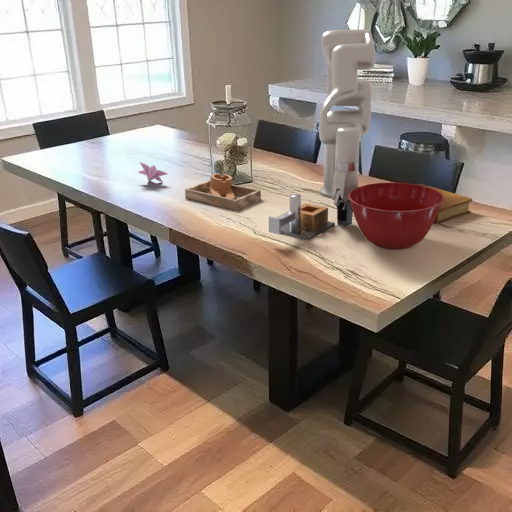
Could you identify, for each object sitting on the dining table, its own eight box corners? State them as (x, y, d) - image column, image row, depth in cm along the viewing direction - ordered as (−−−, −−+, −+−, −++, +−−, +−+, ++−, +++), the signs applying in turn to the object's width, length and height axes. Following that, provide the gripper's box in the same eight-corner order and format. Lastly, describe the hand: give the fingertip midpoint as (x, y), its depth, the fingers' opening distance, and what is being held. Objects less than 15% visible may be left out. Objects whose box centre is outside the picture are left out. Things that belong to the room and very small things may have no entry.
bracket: (208, 189, 247) (209, 172, 244) (229, 190, 249) (230, 174, 246) (213, 205, 231) (214, 188, 228) (235, 206, 233) (237, 189, 230)
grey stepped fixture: (300, 217, 219) (300, 181, 214) (334, 225, 211) (336, 188, 206) (256, 240, 201) (255, 201, 195) (292, 250, 193) (292, 210, 187)
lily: (170, 188, 256) (172, 165, 257) (147, 183, 248) (148, 159, 249) (153, 192, 265) (154, 169, 266) (129, 187, 257) (131, 164, 258)
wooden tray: (211, 188, 252) (210, 179, 251) (260, 199, 238) (260, 190, 237) (185, 198, 241) (184, 189, 240) (236, 210, 227) (235, 201, 226)
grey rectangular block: (342, 221, 214) (343, 190, 210) (351, 223, 212) (353, 192, 208) (337, 224, 212) (338, 193, 207) (346, 226, 210) (347, 195, 205)
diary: (384, 208, 227) (385, 193, 225) (419, 198, 237) (420, 183, 235) (435, 225, 210) (437, 209, 208) (470, 213, 220) (472, 198, 218)
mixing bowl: (328, 242, 197) (329, 196, 191) (381, 219, 216) (384, 176, 209) (405, 268, 179) (409, 217, 173) (456, 240, 197) (461, 193, 191)
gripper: (349, 158, 212) (347, 209, 219) (323, 169, 200) (322, 223, 207) (369, 161, 208) (366, 213, 215) (344, 173, 196) (342, 228, 203)
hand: (344, 217), depth 211 cm, fingers closed on grey rectangular block, 3 cm apart
